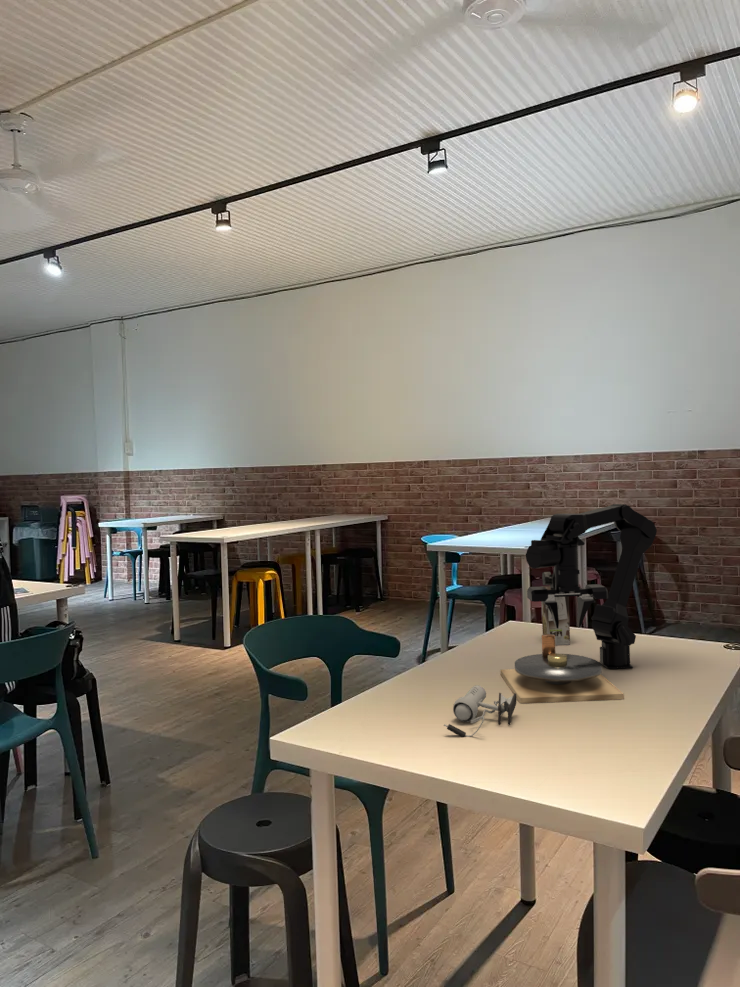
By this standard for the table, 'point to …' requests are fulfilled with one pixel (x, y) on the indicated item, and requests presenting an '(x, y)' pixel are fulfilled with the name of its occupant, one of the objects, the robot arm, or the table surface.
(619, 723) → the table surface
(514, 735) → the table surface
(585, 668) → the handwheel
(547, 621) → the coffee box
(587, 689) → the board
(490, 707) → the clip-on lamp
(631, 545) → the robot arm
